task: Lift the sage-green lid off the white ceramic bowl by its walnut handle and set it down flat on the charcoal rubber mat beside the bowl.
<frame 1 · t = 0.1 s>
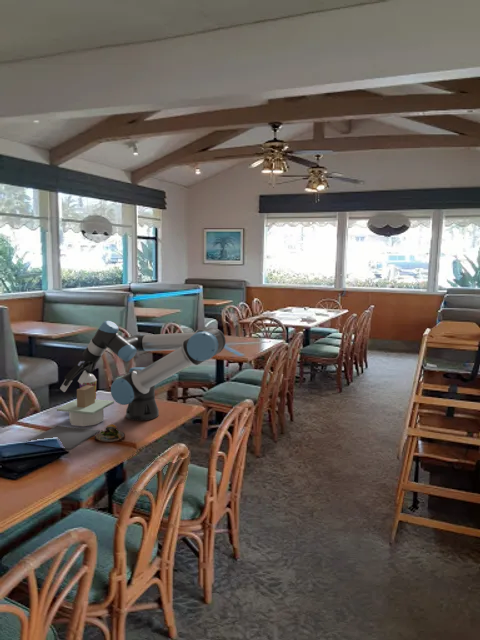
hand: (71, 386, 221), 15 cm above the table, tool tilted 35°, fingers open, 13 cm apart
lid: (86, 406, 219), point 6 cm above the table, touching bowl
smoothie: (88, 407, 241), on the table
mat: (63, 437, 199), on the table
bowl: (86, 420, 220), on the table
burger: (110, 439, 198), on the table
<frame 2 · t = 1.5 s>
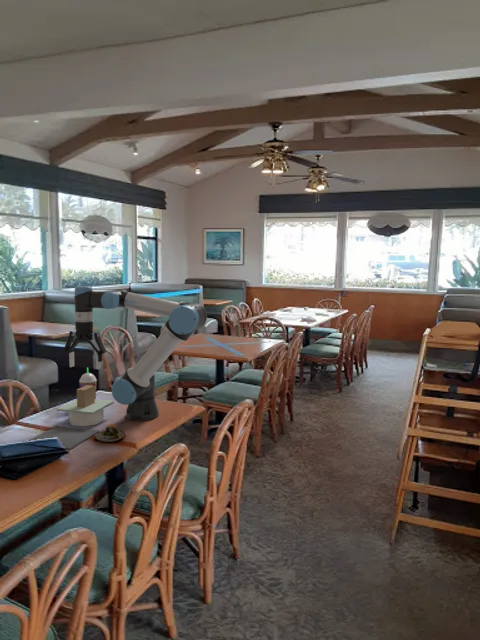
hand: (85, 367, 217), 25 cm above the table, tool pointing down, fingers open, 13 cm apart
nothing on the table moved.
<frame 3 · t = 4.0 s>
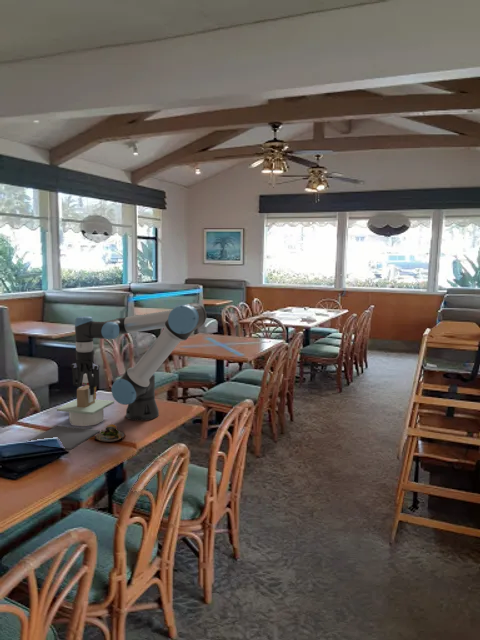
hand: (86, 401, 219), 9 cm above the table, tool pointing down, fingers closed on lid, 4 cm apart
lid: (86, 406, 219), point 6 cm above the table, touching bowl, gripper
everything else where it was.
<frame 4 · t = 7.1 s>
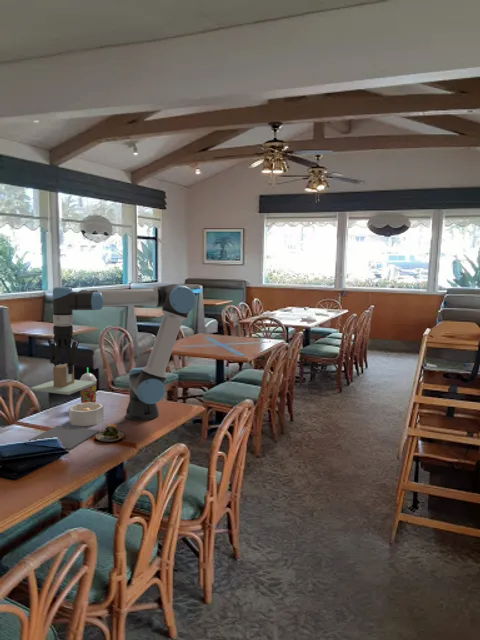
hand: (63, 381, 199), 23 cm above the table, tool pointing down, fingers closed on lid, 4 cm apart
lid: (64, 387, 199), point 21 cm above the table, touching gripper
everything else where it was.
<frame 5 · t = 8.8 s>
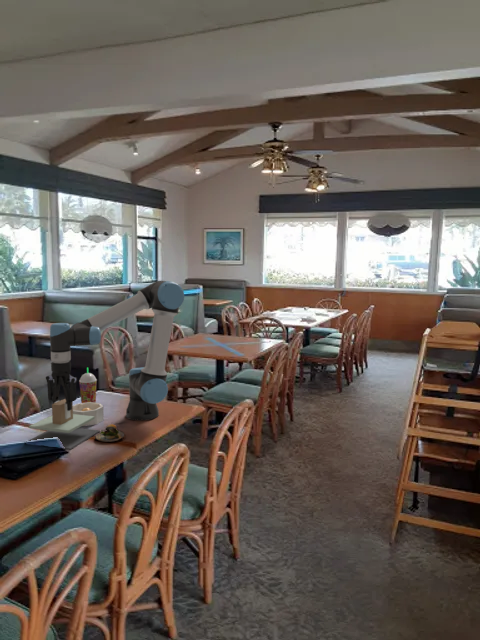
hand: (62, 417, 197), 9 cm above the table, tool pointing down, fingers closed on lid, 4 cm apart
lid: (63, 423, 198), point 6 cm above the table, touching gripper
everything else where it was.
when the fingers open (5 cm above the table, at t = 10.3 s): lid drops 1 cm, resting on mat.
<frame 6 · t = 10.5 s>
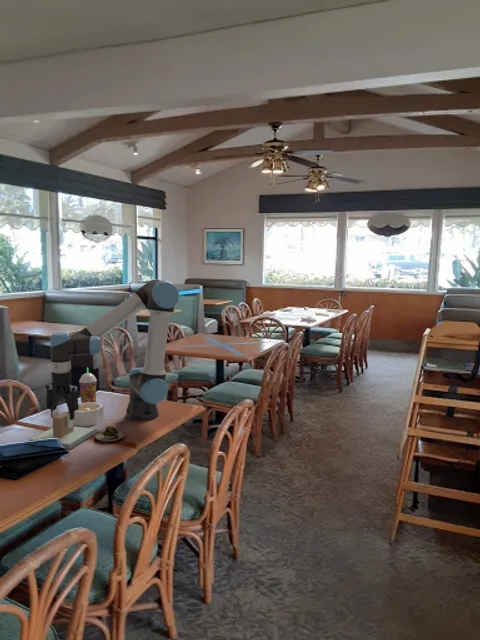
hand: (63, 426, 198), 5 cm above the table, tool pointing down, fingers open, 6 cm apart
lid: (63, 436, 198), point 1 cm above the table, touching mat
everything else where it was.
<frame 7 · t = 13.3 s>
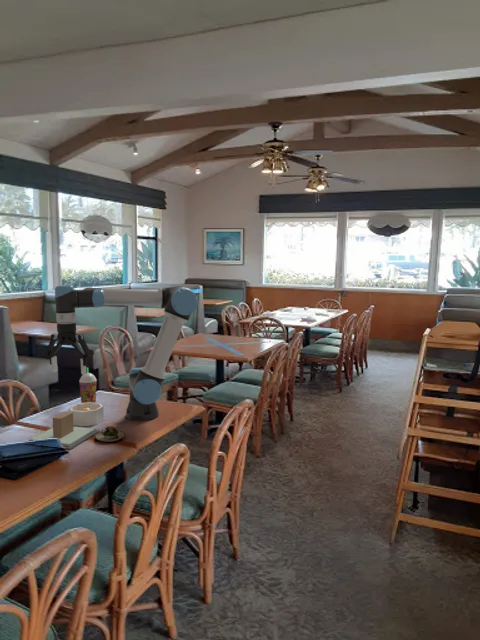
hand: (69, 372, 202), 26 cm above the table, tool pointing down, fingers open, 13 cm apart
nothing on the table moved.
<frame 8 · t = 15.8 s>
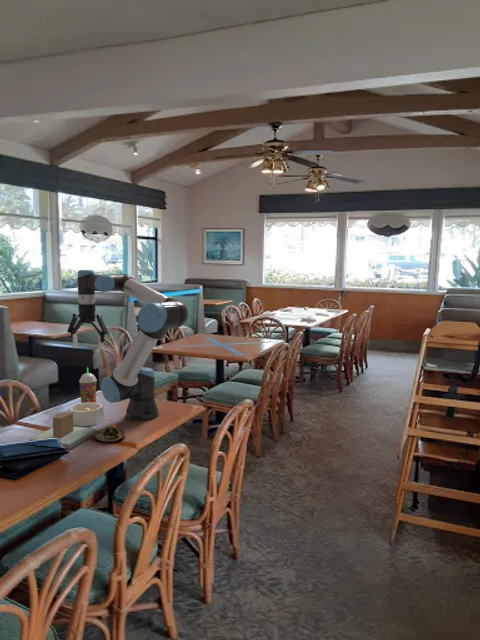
hand: (88, 348, 226), 32 cm above the table, tool pointing down, fingers open, 13 cm apart
nothing on the table moved.
at the end: lid inside the target area on the mat (0.1 cm from its centre), point 0.6 cm above the mat's base; lid tilted 0°; the gripper is holding nothing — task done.
